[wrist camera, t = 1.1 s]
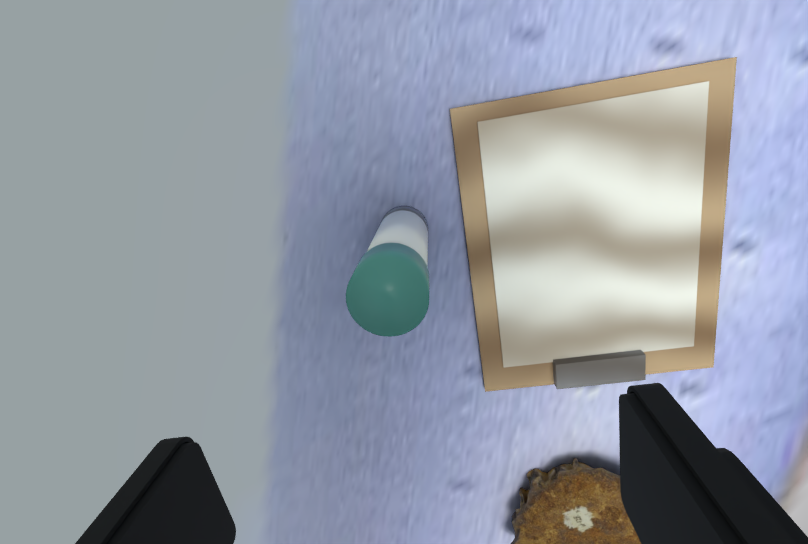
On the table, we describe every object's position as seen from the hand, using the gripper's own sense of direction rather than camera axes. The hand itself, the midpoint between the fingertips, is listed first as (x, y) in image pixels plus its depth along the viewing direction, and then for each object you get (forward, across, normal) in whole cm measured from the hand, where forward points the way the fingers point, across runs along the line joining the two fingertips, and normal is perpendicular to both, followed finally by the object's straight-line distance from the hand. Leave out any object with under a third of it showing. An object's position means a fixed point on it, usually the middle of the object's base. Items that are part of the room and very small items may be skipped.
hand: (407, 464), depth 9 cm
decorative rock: (+20, -10, +27) cm, 35 cm away
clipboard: (+20, -11, +3) cm, 23 cm away
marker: (+20, +1, 0) cm, 21 cm away
